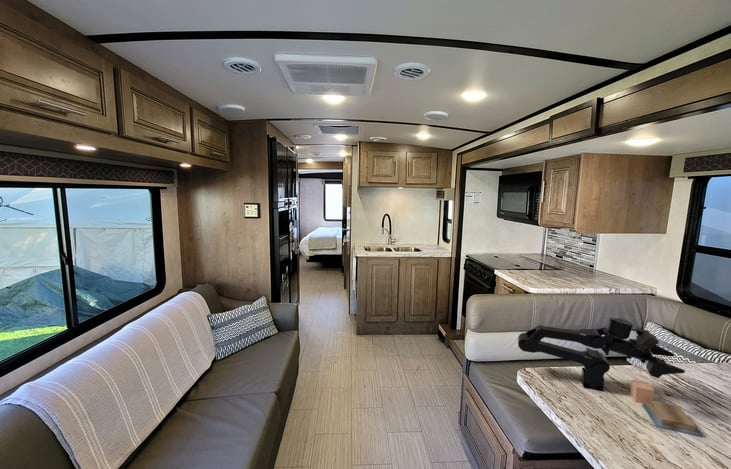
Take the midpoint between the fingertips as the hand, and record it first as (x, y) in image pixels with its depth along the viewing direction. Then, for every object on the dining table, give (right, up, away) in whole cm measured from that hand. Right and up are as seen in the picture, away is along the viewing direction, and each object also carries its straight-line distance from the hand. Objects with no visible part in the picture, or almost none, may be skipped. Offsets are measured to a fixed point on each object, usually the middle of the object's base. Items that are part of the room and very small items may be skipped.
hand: (678, 363), depth 106 cm
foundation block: (-10, -17, -7) cm, 21 cm away
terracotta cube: (-10, -16, +4) cm, 19 cm away
